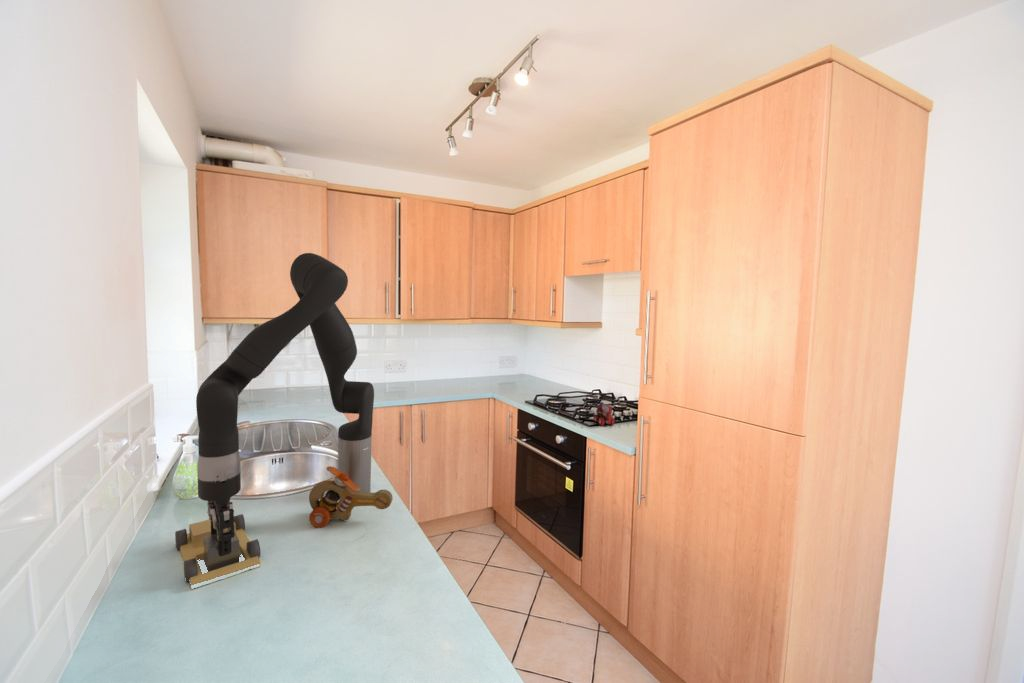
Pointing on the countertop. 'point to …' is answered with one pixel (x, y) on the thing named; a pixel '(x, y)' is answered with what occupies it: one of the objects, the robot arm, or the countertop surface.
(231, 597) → the countertop surface
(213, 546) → the block
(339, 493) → the toy helicopter
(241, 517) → the chassis
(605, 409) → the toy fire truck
